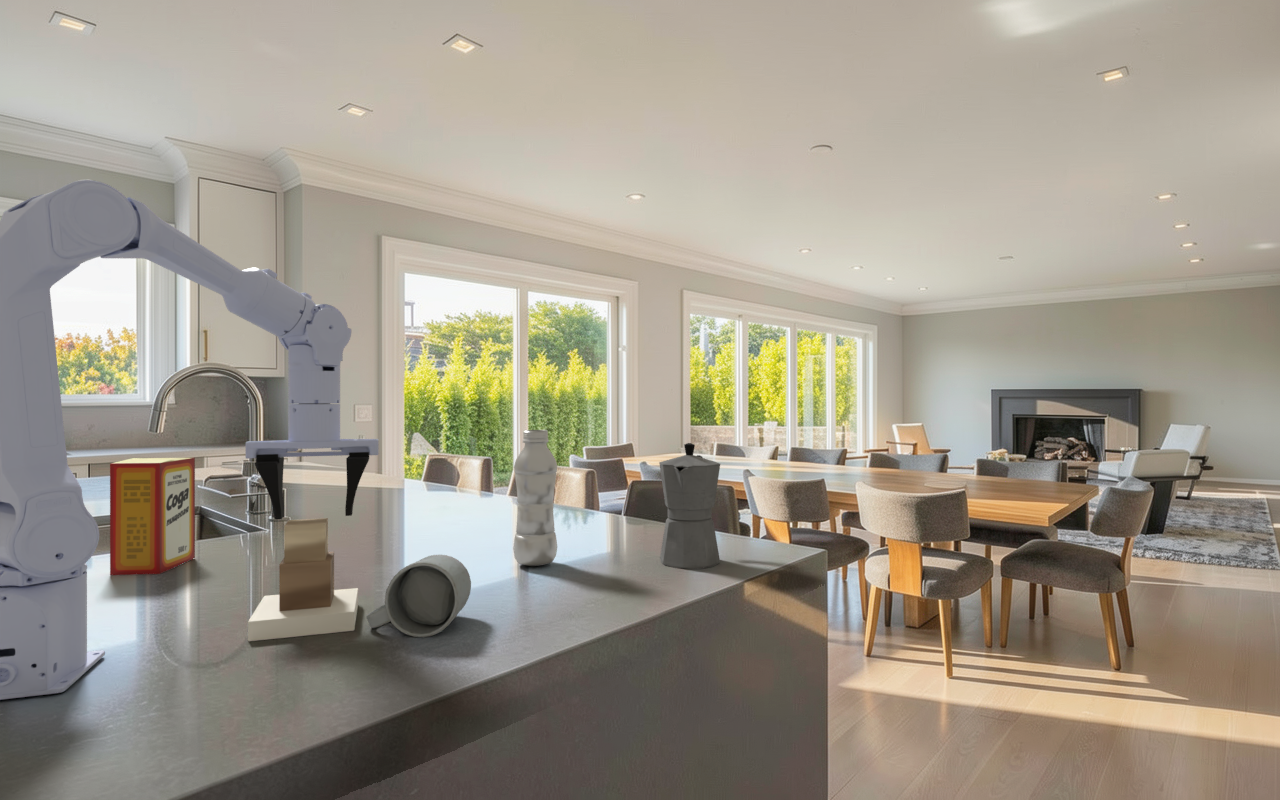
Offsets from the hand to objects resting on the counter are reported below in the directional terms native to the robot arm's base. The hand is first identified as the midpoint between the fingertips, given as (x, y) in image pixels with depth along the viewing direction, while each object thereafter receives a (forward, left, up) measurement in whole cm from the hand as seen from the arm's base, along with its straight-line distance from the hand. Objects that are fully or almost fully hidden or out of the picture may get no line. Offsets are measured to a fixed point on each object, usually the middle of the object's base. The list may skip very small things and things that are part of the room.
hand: (314, 516), depth 85 cm
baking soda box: (+28, +24, -11) cm, 38 cm away
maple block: (-8, 0, -3) cm, 8 cm away
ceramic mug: (-14, -11, -11) cm, 21 cm away
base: (-8, 0, -10) cm, 13 cm away
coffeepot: (+5, -52, -11) cm, 53 cm away
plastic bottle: (+10, -29, -11) cm, 33 cm away
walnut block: (-8, 0, -8) cm, 11 cm away
